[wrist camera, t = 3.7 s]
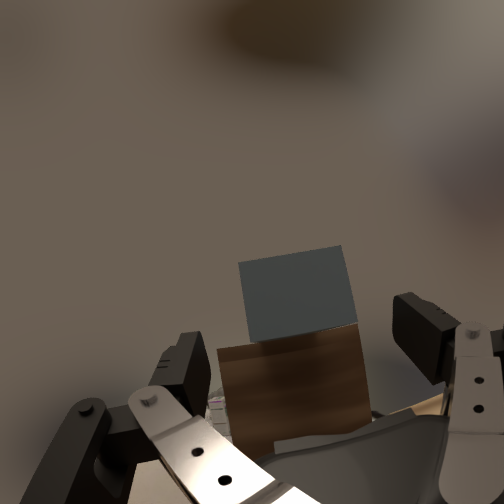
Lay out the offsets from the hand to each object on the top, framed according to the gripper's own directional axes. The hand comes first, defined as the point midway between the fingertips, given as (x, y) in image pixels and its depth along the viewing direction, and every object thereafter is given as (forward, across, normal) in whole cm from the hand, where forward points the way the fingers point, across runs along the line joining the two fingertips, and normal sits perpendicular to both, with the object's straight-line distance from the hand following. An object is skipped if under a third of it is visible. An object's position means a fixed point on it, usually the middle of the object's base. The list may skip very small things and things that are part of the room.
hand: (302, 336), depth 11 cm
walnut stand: (-2, 0, +36) cm, 36 cm away
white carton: (+66, +23, +76) cm, 103 cm away
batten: (+10, 0, +6) cm, 12 cm away
